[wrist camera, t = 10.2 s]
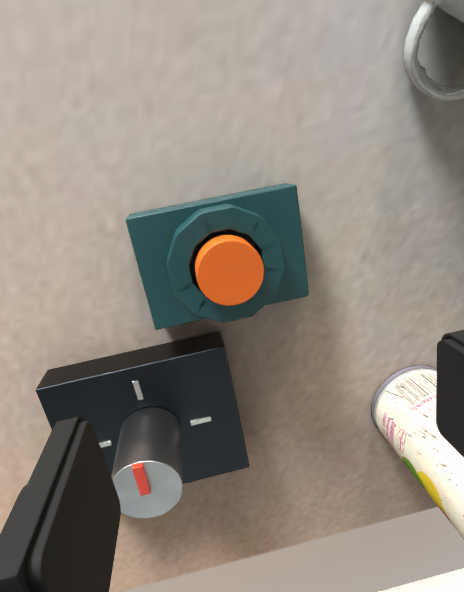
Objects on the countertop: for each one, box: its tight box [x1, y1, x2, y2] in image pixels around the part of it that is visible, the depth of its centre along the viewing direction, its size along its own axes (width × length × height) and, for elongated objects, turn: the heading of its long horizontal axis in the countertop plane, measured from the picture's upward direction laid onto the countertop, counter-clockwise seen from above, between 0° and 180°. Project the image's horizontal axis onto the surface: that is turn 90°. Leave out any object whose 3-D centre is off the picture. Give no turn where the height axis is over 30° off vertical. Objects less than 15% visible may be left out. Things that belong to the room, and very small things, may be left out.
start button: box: [195, 234, 264, 306], centre depth 21 cm, size 4×4×2 cm
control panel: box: [36, 331, 249, 484], centre depth 27 cm, size 12×10×3 cm
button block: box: [126, 183, 309, 330], centre depth 23 cm, size 10×7×4 cm
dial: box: [111, 407, 183, 519], centre depth 23 cm, size 4×4×5 cm
